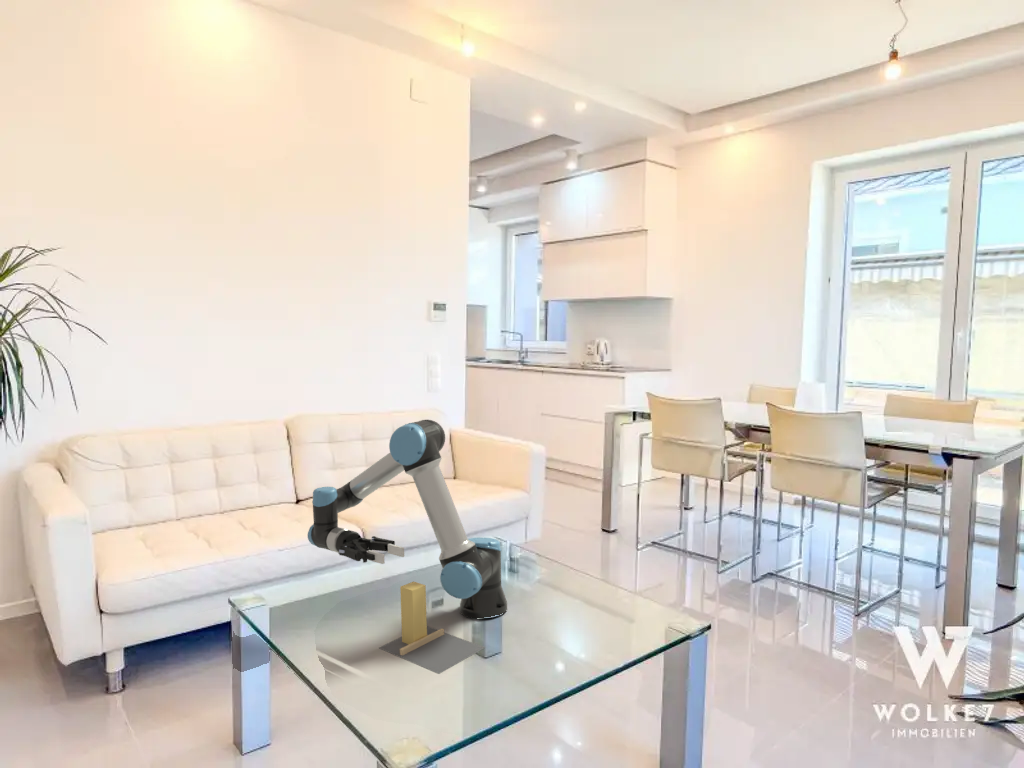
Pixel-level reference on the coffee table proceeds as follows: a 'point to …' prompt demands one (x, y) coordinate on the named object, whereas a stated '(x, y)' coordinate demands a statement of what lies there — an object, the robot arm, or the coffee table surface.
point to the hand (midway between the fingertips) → (393, 555)
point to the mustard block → (413, 612)
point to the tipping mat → (434, 650)
